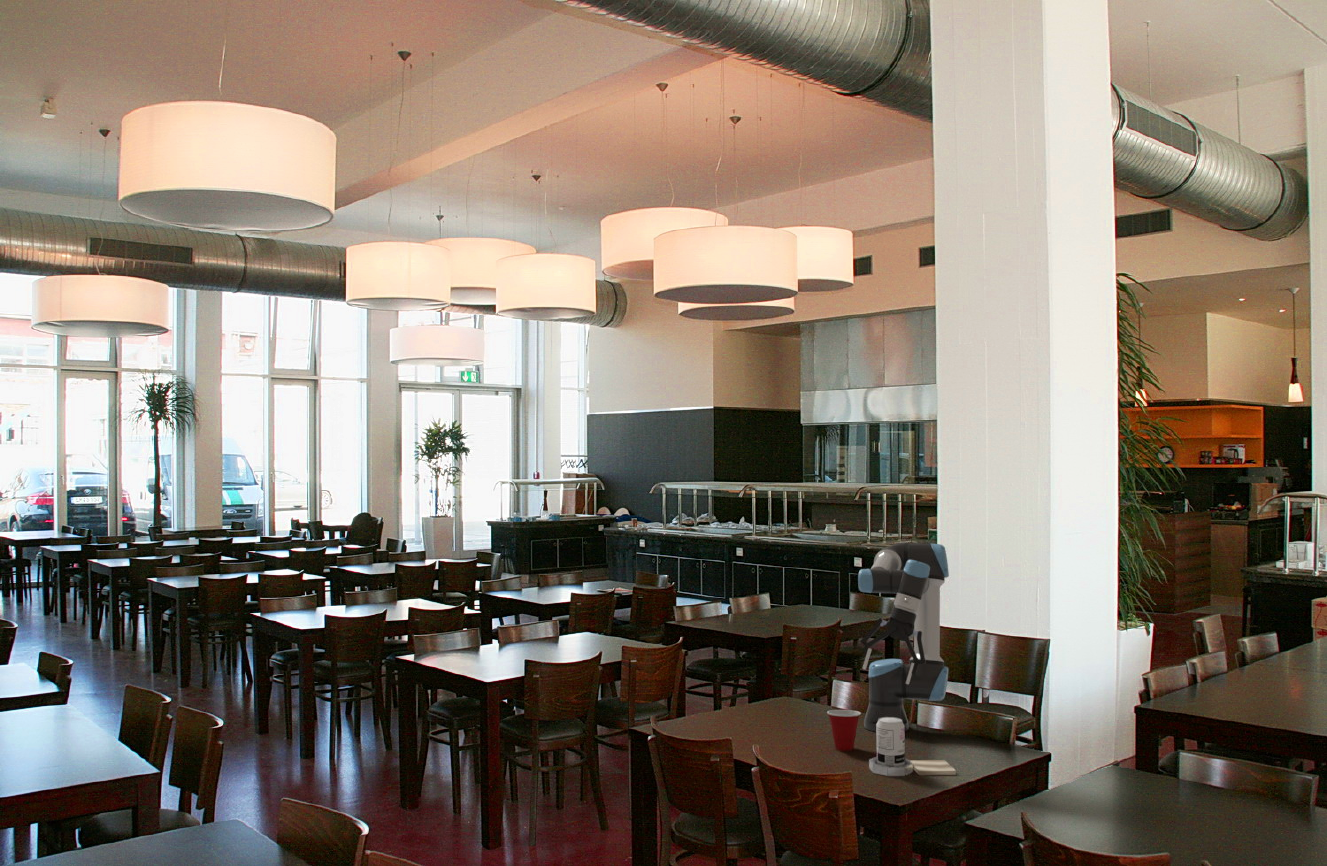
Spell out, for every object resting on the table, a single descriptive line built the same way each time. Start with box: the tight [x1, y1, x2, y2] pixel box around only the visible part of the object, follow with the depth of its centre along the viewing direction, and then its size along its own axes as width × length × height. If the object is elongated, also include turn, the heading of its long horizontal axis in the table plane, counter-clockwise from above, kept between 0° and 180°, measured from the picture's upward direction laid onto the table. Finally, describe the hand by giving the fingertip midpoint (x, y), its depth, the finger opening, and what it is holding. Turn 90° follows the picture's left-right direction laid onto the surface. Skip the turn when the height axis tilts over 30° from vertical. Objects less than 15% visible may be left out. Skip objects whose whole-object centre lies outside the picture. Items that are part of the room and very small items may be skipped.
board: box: [909, 759, 957, 776], centre depth 313 cm, size 11×11×1 cm
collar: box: [868, 756, 914, 777], centre depth 313 cm, size 12×12×2 cm
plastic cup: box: [826, 709, 862, 752], centre depth 337 cm, size 11×11×12 cm
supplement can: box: [875, 717, 906, 767], centre depth 313 cm, size 8×8×15 cm
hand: (885, 676), depth 320 cm, fingers open, 13 cm apart
